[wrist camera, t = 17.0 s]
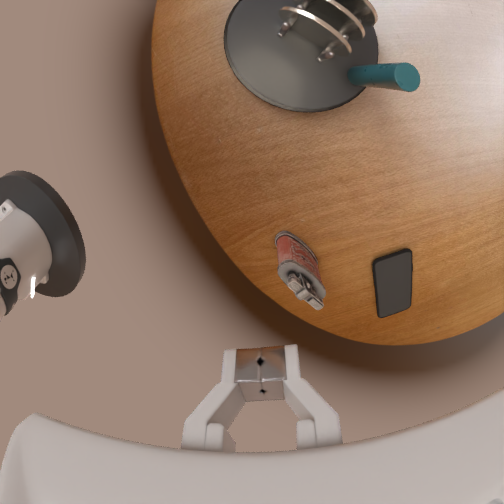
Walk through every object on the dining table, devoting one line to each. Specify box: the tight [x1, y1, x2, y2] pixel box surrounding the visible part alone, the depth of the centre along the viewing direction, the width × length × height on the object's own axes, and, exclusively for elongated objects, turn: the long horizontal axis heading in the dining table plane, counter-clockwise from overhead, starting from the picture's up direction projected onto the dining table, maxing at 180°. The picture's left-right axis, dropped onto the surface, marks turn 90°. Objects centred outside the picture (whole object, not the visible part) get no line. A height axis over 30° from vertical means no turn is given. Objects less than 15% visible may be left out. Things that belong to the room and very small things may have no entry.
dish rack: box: [227, 0, 420, 109], centre depth 18 cm, size 17×17×13 cm
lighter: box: [275, 231, 326, 310], centre depth 37 cm, size 8×3×10 cm, turn 45°
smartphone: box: [372, 249, 413, 318], centre depth 44 cm, size 7×1×15 cm
